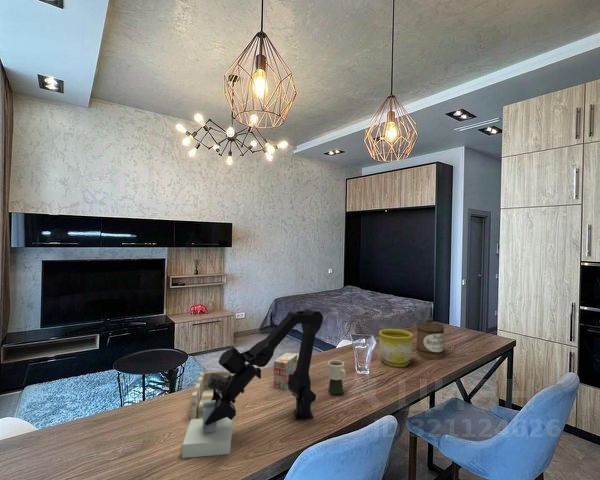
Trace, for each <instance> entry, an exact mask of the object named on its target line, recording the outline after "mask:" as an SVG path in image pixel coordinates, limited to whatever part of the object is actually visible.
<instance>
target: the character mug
mask: <svg viewBox="0 0 600 480" xmlns="http://www.w3.org/2000/svg"><path fill="white" fill-rule="evenodd" d="M326 370H327V378H329V385H328V392H329V394H332V395H340V394H343V393H344V386H343V379H345V378H346V370H345V362H344V361H342V360H339V359H331V360H329V361H328V362H327V363H326Z"/></svg>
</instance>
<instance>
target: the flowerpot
mask: <svg viewBox="0 0 600 480" xmlns="http://www.w3.org/2000/svg"><path fill="white" fill-rule="evenodd" d="M378 335H379V341H378V342H379V343H378V350H379V353H380V356H381V357H382V358H381V360H382V361H383V363H384V364H385V365H387V366H389V367H393V366H394V367H395V368H404V367H407V366H408V365H409V364H410V359H411V358H412V357H413V356H412V355H413V353H414V352H413V350H414V348H413V347H414V346H413V337H414V335H413V333H412V332H411V331H408V330H405V329H399V328H386V329H381V330H379V332H378Z"/></svg>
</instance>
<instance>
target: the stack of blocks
mask: <svg viewBox="0 0 600 480" xmlns="http://www.w3.org/2000/svg"><path fill="white" fill-rule="evenodd" d="M298 357H299V353H291V352H285V353H284V354H282V355H281V356H280V357H278V358H276V359H275V360H273V388H275V389H279V390H283V391H287V390H289V388H288V384H287V383H288V381H289V375H290V374H293V373H294V372H295V371H296V367H297V362H298Z"/></svg>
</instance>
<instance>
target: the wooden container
mask: <svg viewBox="0 0 600 480" xmlns="http://www.w3.org/2000/svg"><path fill="white" fill-rule="evenodd" d="M426 320H427V321H419V322H417V324H416V355H417V354H418V355H417V356H418V357H421V358H423V357H424V359H427V358H429V359H428V360H441V359H444V358H445V336H444V335H445V332H444V329H445V327H444V324H443V323H439V322H434V319H433V318H432V317H427V318H426Z"/></svg>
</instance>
